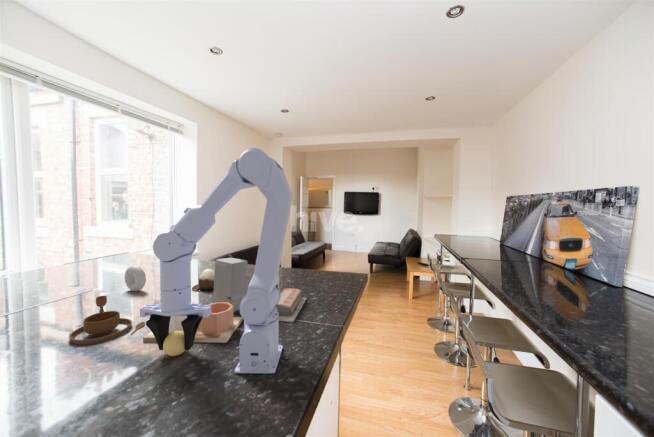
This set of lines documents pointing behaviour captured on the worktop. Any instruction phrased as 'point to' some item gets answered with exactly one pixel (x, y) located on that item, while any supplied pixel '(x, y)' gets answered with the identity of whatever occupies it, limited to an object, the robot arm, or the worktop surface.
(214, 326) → the terracotta octagonal bowl
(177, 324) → the tube white
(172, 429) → the worktop surface
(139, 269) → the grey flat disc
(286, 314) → the packaged product
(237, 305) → the skincare box
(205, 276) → the skull
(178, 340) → the ball
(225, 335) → the rack board
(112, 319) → the place setting
